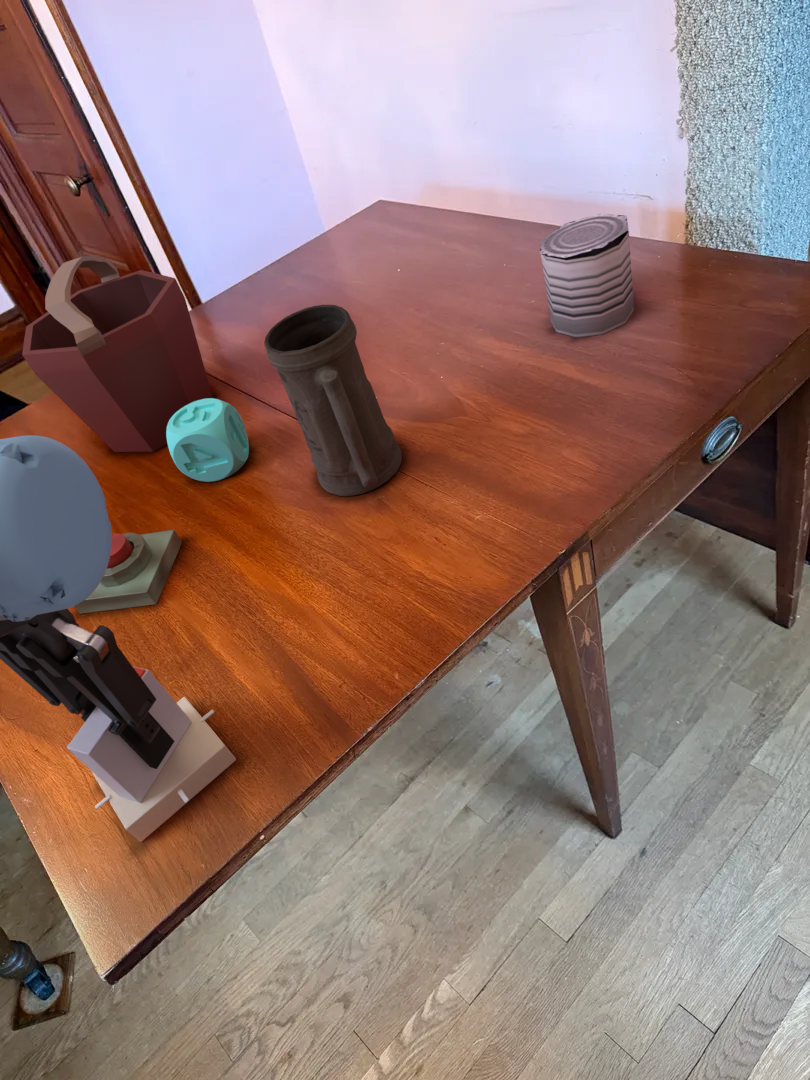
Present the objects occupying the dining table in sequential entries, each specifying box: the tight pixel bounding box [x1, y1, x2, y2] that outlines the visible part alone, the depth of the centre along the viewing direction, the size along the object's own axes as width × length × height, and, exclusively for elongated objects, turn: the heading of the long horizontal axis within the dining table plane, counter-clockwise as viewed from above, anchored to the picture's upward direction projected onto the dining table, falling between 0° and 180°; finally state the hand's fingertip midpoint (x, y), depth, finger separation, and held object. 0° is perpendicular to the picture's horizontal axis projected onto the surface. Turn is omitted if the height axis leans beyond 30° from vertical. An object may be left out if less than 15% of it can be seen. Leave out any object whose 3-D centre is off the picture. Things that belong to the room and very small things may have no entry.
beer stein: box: [263, 304, 403, 497], centre depth 84 cm, size 15×11×20 cm
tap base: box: [91, 696, 237, 843], centre depth 66 cm, size 12×12×3 cm
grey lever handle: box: [66, 665, 192, 803], centre depth 62 cm, size 8×2×8 cm, turn 157°
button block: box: [73, 529, 183, 614], centre depth 87 cm, size 10×10×4 cm
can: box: [539, 213, 635, 338], centre depth 99 cm, size 11×11×12 cm
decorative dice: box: [166, 397, 250, 483], centre depth 99 cm, size 8×8×8 cm
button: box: [107, 532, 133, 569], centre depth 86 cm, size 4×4×2 cm
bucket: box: [21, 255, 214, 453], centre depth 107 cm, size 24×22×25 cm
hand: (148, 749), depth 64 cm, fingers closed on grey lever handle, 2 cm apart
